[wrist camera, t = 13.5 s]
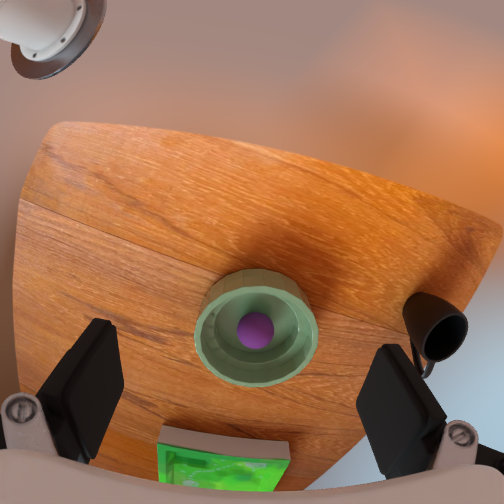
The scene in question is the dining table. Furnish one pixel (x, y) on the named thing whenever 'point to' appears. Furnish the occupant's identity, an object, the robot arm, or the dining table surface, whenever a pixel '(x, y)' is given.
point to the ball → (255, 330)
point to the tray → (220, 460)
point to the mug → (433, 329)
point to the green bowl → (264, 301)
